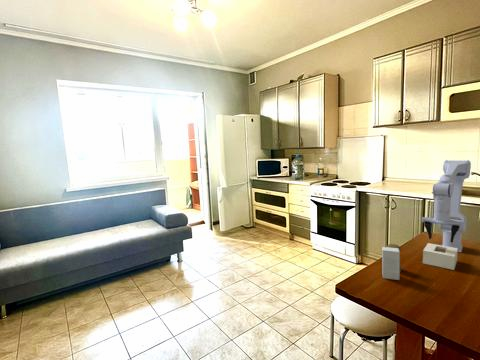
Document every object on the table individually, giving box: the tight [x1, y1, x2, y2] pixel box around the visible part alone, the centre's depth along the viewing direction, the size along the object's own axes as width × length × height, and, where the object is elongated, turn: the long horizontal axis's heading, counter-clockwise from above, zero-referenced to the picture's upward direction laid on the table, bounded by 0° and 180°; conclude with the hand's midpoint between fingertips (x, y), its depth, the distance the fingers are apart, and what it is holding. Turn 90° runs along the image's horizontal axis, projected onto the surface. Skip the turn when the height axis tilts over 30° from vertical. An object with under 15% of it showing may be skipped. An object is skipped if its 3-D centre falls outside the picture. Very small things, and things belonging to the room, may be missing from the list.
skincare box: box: [381, 246, 401, 281], centre depth 109 cm, size 6×4×12 cm
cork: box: [386, 243, 402, 272], centre depth 115 cm, size 6×6×11 cm
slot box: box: [422, 242, 458, 271], centre depth 119 cm, size 11×11×6 cm
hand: (440, 240), depth 118 cm, fingers open, 7 cm apart
